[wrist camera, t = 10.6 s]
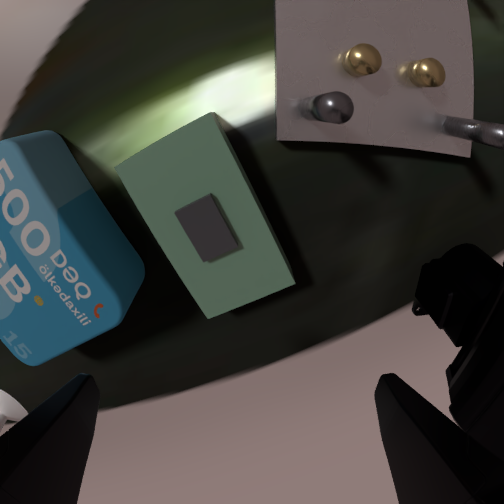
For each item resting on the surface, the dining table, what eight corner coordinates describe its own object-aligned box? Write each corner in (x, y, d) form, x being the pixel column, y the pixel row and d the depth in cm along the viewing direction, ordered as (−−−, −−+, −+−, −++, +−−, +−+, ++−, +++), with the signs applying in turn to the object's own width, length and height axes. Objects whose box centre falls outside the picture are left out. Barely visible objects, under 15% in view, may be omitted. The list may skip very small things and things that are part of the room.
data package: (-67, 242, 13) (7, 126, 11) (-31, 219, 17) (53, 118, 15) (28, 371, 18) (135, 318, 15) (52, 335, 22) (156, 276, 20)
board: (215, 112, 16) (209, 112, 13) (289, 263, 20) (296, 287, 17) (130, 159, 17) (111, 168, 14) (211, 296, 21) (207, 323, 18)
